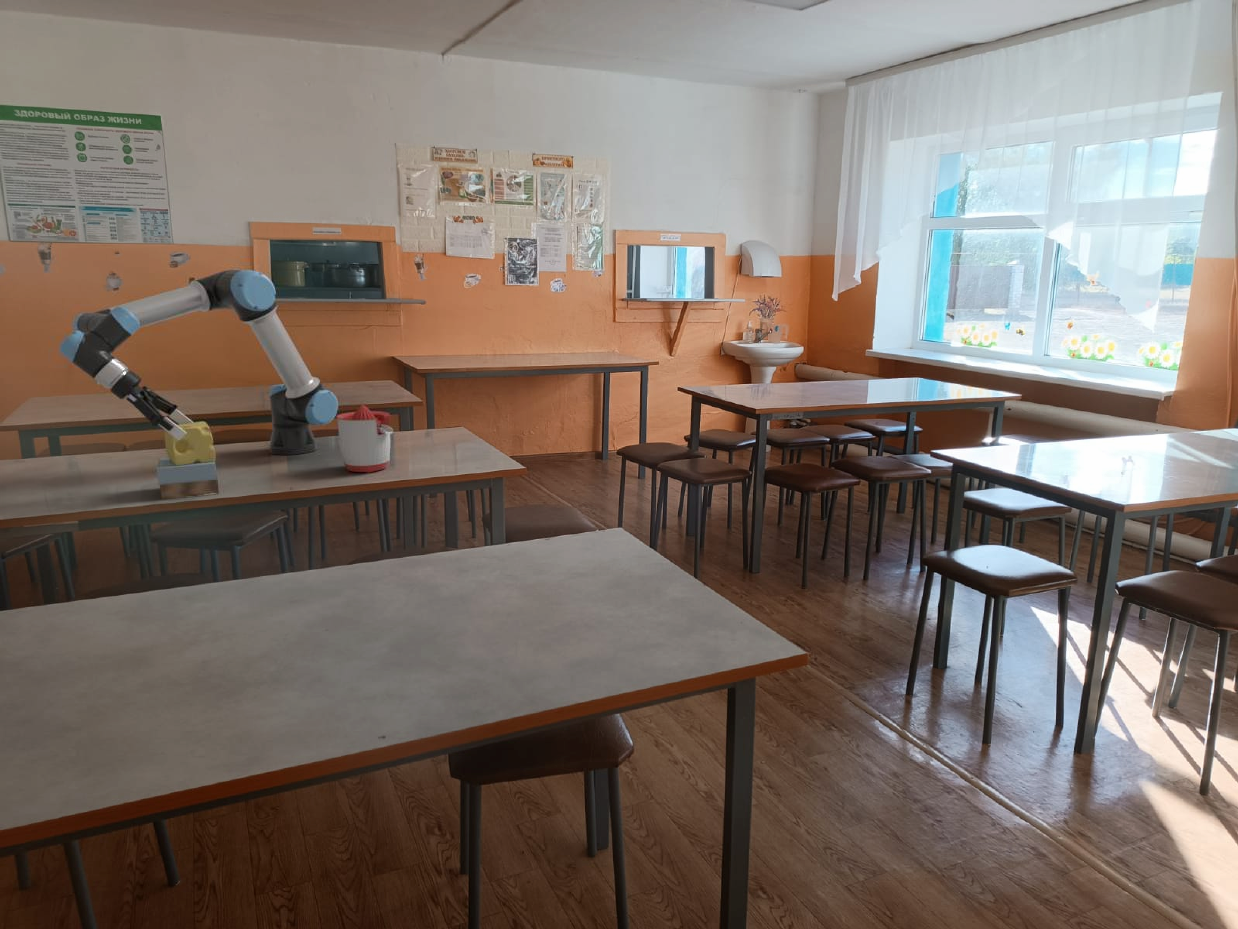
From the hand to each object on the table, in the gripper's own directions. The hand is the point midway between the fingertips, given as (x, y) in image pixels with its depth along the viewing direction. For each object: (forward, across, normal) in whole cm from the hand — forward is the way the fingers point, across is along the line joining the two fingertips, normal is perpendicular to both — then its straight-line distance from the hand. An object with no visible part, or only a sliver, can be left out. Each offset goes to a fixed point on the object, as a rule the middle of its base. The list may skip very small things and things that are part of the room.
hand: (188, 432), depth 233 cm
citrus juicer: (+45, -14, +21) cm, 52 cm away
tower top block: (+8, 0, -10) cm, 13 cm away
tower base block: (+11, 0, -13) cm, 17 cm away
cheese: (+6, 0, -6) cm, 8 cm away
